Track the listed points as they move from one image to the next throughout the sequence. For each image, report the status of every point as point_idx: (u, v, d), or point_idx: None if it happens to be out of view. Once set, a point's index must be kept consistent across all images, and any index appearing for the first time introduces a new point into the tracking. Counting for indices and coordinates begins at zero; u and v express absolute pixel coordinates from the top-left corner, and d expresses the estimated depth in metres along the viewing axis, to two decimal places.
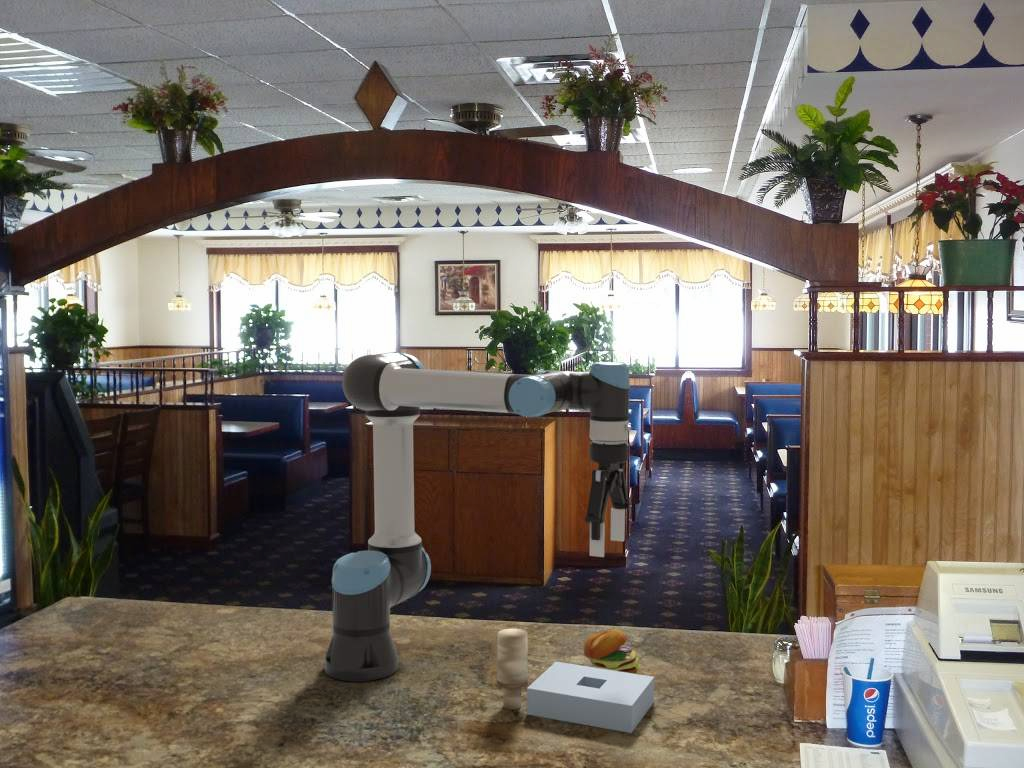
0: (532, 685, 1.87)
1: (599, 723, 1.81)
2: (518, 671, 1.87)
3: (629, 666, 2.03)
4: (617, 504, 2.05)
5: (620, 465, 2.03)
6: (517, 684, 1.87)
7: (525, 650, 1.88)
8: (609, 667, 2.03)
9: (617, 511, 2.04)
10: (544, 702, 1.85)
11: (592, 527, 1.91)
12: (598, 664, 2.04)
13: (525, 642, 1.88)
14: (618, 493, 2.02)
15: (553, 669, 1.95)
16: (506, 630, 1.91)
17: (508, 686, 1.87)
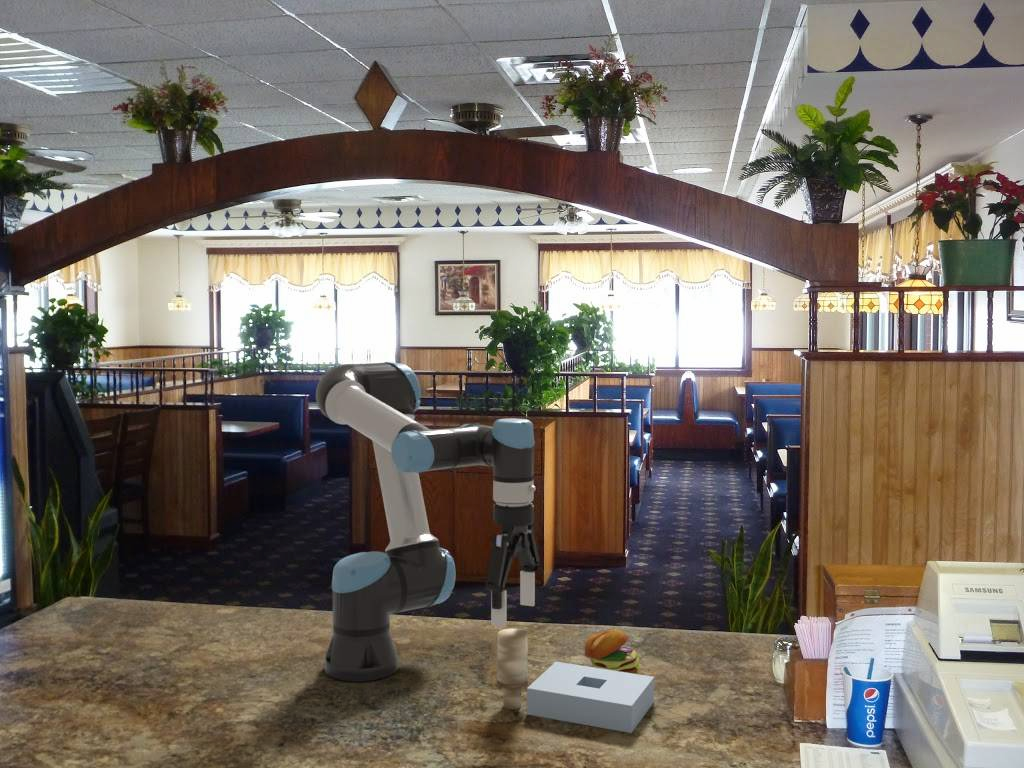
0: (532, 685, 1.87)
1: (599, 723, 1.81)
2: (518, 671, 1.87)
3: (630, 666, 2.03)
4: (527, 567, 1.95)
5: (528, 526, 1.92)
6: (517, 684, 1.87)
7: (525, 650, 1.88)
8: (610, 667, 2.03)
9: (526, 574, 1.94)
10: (544, 702, 1.85)
11: (493, 595, 1.80)
12: (599, 664, 2.04)
13: (525, 642, 1.88)
14: (526, 556, 1.91)
15: (553, 669, 1.95)
16: (506, 630, 1.91)
17: (508, 686, 1.87)
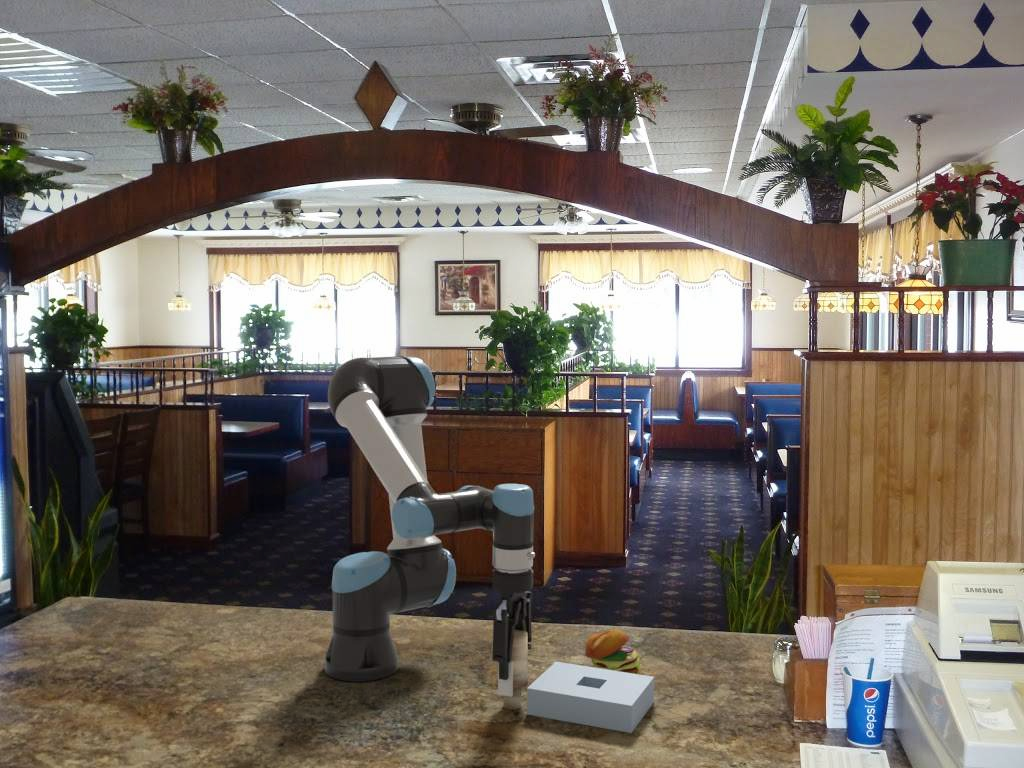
0: (532, 685, 1.87)
1: (599, 723, 1.81)
2: (518, 671, 1.87)
3: (630, 666, 2.03)
4: None
5: (527, 595, 1.93)
6: (517, 684, 1.87)
7: (525, 650, 1.88)
8: (610, 667, 2.03)
9: None
10: (544, 702, 1.85)
11: (500, 666, 1.85)
12: (599, 664, 2.04)
13: (525, 642, 1.88)
14: (521, 627, 1.91)
15: (553, 669, 1.95)
16: None
17: None
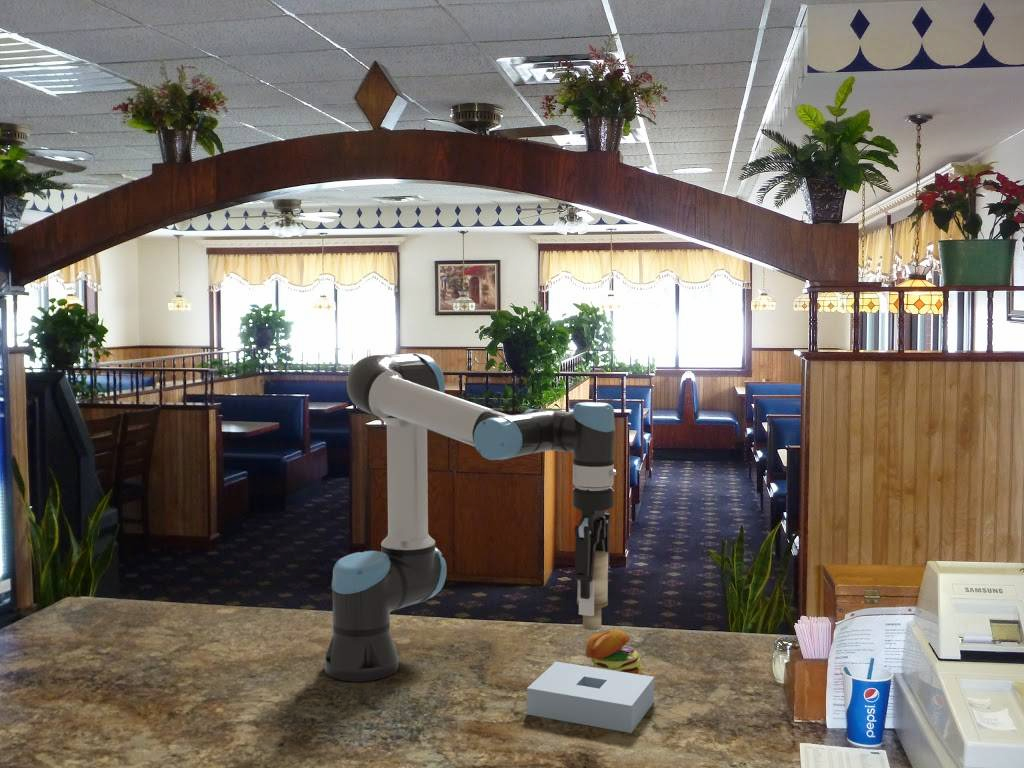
0: (532, 685, 1.87)
1: (599, 723, 1.81)
2: (599, 590, 1.85)
3: (631, 666, 2.03)
4: None
5: (605, 516, 1.91)
6: (598, 604, 1.85)
7: (606, 570, 1.85)
8: (611, 667, 2.03)
9: None
10: (544, 702, 1.85)
11: (581, 585, 1.83)
12: (600, 664, 2.04)
13: (606, 561, 1.85)
14: (600, 547, 1.88)
15: (553, 669, 1.95)
16: None
17: None
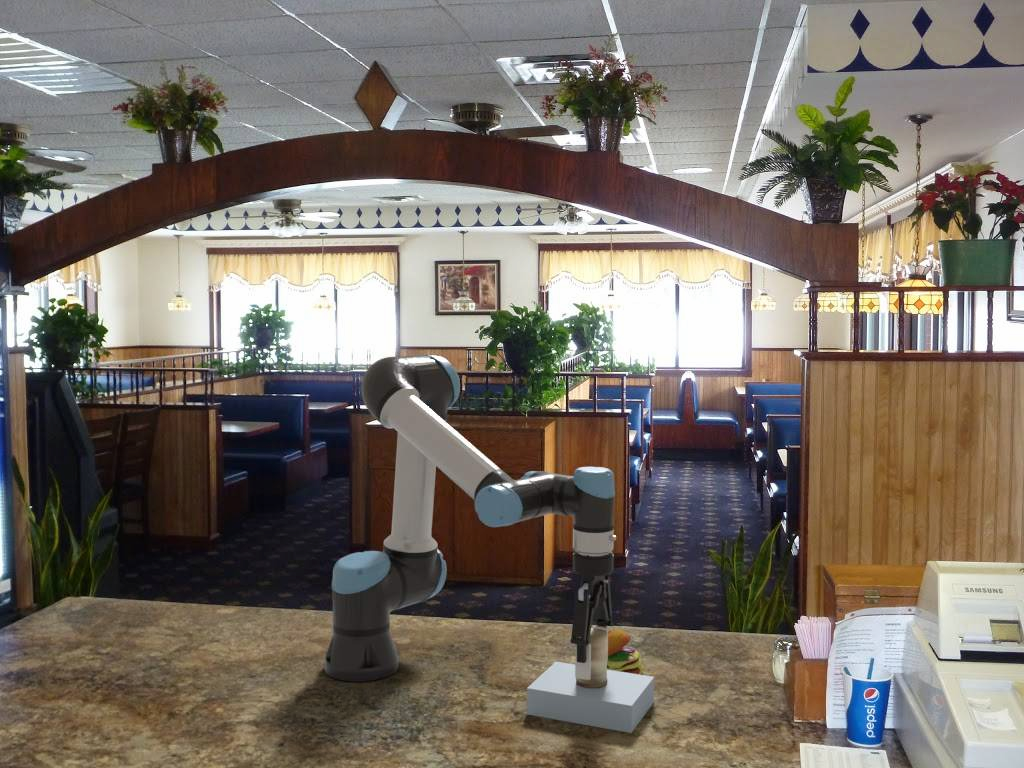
0: (532, 685, 1.87)
1: (599, 723, 1.81)
2: (599, 670, 1.86)
3: (632, 666, 2.03)
4: (600, 621, 1.93)
5: (605, 576, 1.92)
6: (598, 684, 1.86)
7: (605, 650, 1.87)
8: (612, 667, 2.03)
9: None
10: (544, 702, 1.85)
11: (578, 649, 1.82)
12: None
13: (605, 641, 1.87)
14: (602, 607, 1.90)
15: (553, 669, 1.95)
16: None
17: (589, 686, 1.86)
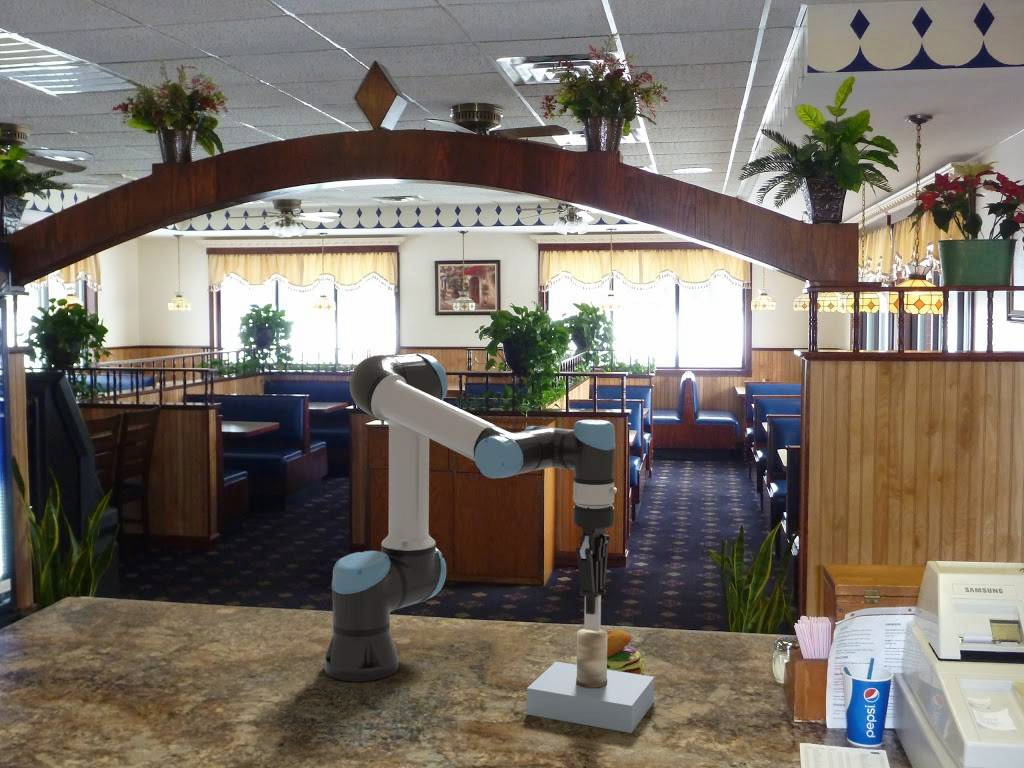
0: (532, 685, 1.87)
1: (599, 723, 1.81)
2: (599, 670, 1.86)
3: (633, 666, 2.03)
4: None
5: None
6: (598, 684, 1.86)
7: (605, 650, 1.87)
8: (613, 667, 2.02)
9: None
10: (544, 702, 1.85)
11: (587, 601, 1.86)
12: None
13: (605, 641, 1.87)
14: (598, 567, 1.87)
15: (553, 669, 1.95)
16: None
17: (589, 686, 1.86)
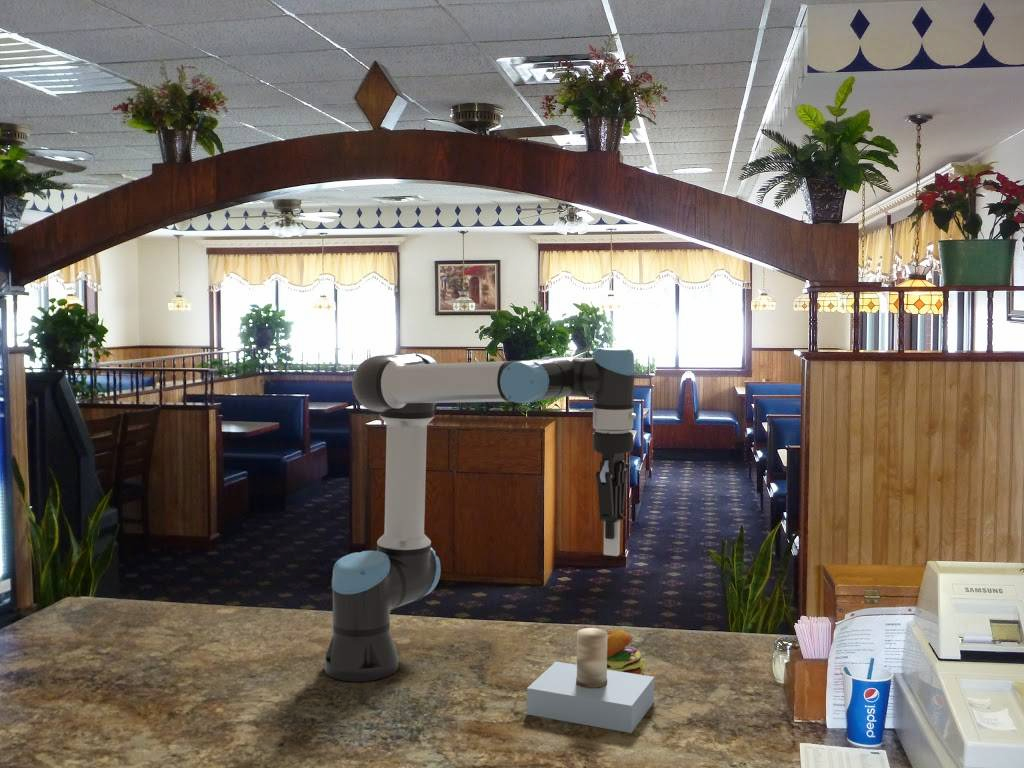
0: (532, 685, 1.87)
1: (599, 723, 1.81)
2: (599, 670, 1.86)
3: (634, 666, 2.03)
4: None
5: None
6: (598, 684, 1.86)
7: (605, 650, 1.87)
8: (614, 667, 2.02)
9: None
10: (544, 702, 1.85)
11: (606, 526, 1.88)
12: None
13: (605, 641, 1.87)
14: (617, 493, 1.90)
15: (553, 669, 1.95)
16: (585, 629, 1.90)
17: (589, 686, 1.86)
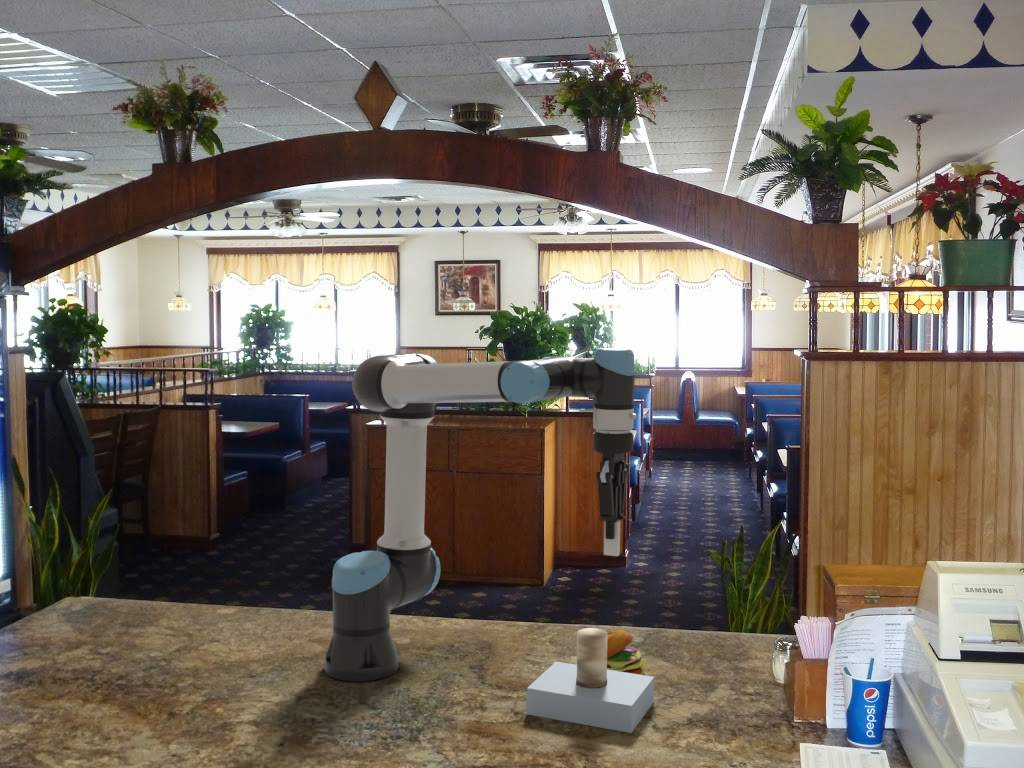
0: (532, 685, 1.87)
1: (599, 723, 1.81)
2: (599, 670, 1.86)
3: (634, 666, 2.03)
4: None
5: None
6: (598, 684, 1.86)
7: (605, 650, 1.87)
8: (614, 667, 2.02)
9: None
10: (544, 702, 1.85)
11: (606, 526, 1.89)
12: None
13: (605, 641, 1.87)
14: (617, 493, 1.90)
15: (553, 669, 1.95)
16: (585, 629, 1.90)
17: (589, 686, 1.86)
